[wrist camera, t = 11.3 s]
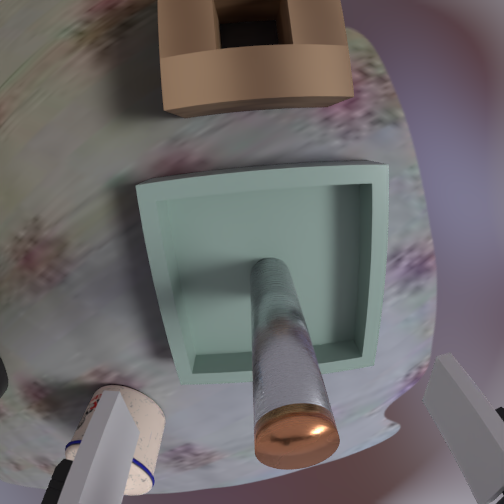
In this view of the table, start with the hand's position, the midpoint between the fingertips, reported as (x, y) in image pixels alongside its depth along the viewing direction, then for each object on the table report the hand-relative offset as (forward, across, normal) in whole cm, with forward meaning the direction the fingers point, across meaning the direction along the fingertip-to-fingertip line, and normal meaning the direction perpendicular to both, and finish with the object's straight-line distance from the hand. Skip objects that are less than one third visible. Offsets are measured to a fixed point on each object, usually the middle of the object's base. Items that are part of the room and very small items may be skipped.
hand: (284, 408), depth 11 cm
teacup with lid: (+14, -16, -17) cm, 28 cm away
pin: (+13, 0, 0) cm, 13 cm away
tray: (+14, 0, 0) cm, 14 cm away
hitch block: (+14, 0, +17) cm, 22 cm away
